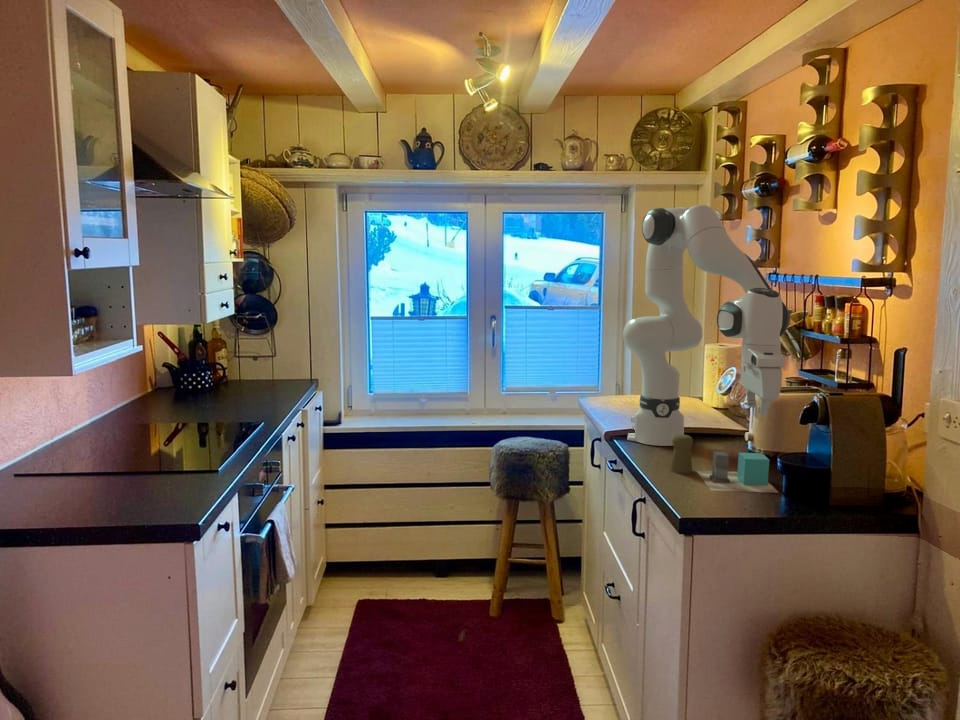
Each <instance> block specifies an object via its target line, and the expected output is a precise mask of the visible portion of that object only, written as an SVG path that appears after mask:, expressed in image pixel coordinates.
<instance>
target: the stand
mask: <svg viewBox="0 0 960 720" xmlns="http://www.w3.org/2000/svg"><path fill="white" fill-rule="evenodd" d="M712 455H713V456H712V457H713V458H712V470H696V473H698V475H699V476H700V478H701V479H702V481H703V482H704V484H705V485H706V486H707V487H708V488H709V490H710V491H713V492H714V491H718V492H742V493H743V492H745V493H747V492H748V493H750V492H751V493H774V494H777V493H778V494H779V491H778V490H777V489H776V488H775V487H774V486H773V485H772V484H771V483H770V482H769V481H768V486H763V485H743V484H742V483H741V482H740V480H739V479H738V478H737V471H729V458H730V455H729V454H728V453H727V452H726V451H713V454H712Z"/></svg>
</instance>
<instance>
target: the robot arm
mask: <svg viewBox="0 0 960 720" xmlns="http://www.w3.org/2000/svg"><path fill="white" fill-rule="evenodd" d="M641 231H642V236H643V237H644V239H645V241H646V242H647V243H648V246H647V250H646V258H645V259H646V260H645V277H644V278H645V283H644V286H645V291H644V292H645V296H646V298H647V299H648V300H649V301H650V302H652V303H653V304H655V305H656V307H657V309H658V310H659V315H658V316H657V315H655V316H653V315H652V316H651V315H650V316H640V317H635V318H632V319H630V320H628V321H627V322H626V324H625V326H624V328H623V331H622V338H623V339H622V340H623V341H624V345H625V346H626V348H627V349H629V350H630V351H631V352H632V354H634V355H635V357H636V358H637V360H638V363H639V365H640V368H641V370H640V371H641V394H640V396H639V397H640V398H639V406H640V407H639V409H638V410H637V412H636V413H635V415H632V416H631V420H630V424H633V425H632V426H631V427H632V429H634V430H635V433H629V432H628V434H627V441H632V442H637V443H640V444H643V445H650V446H659V447H663V446H664V447H667V446H668V447H669V446H670V447H671V446H673V443H672V440H673V437H674V436H675V435H680V434H683V435H685V428H684V427H685V424H684V423H685V416H684V414H683V413H682V412H681V411H680V405H681V401H680V399H681V398H680V396H679V392H680V391H679V390H680V389H679V388H680V372H679V370H678V369H677V368H676V367H675V366H673V365H672V364H670V363H669V362H668V360H667V355H666V353H667V352H669V353H670V352H683V351H687V350H691V349H693V348H694V349H695V348H696V347H698V346H699V344H700V343H701V341H702V338H703V327H702V325H701V323H700V321H699V320H698V319H697V318H696V317H695V316H694V315H693V314H692V313H691V312H690V310H689V308H688V306H687V304H686V301H685V295H684V253H685V251H686V250H687V251H688V254H689V257H690V259H691V261H692V262H693V263H694V265H695V266H696V267H697V268H698V269H700V270H701V271H704V272H706V273H709V274H712V275H713V274H714V275H717V276H721V277H725V278H727V279H729V280H732V281H734V282H736V283H737V284H738V285H739V286H740V287H741V288H742V290H743V291H744V293H745V294H744V295H742V296H741V297H739V298H736V299H732V300H730V301H726V302H724V303H723V304H722V305H721V306H720V308H719V310H718V312H717V315H716V325H717V328H718V331H720V333H721V334H722V335H723V336H724V337H727V338H730V339H742V341H741V357H740V361H741V362H742V363H741V368H740V369H741V370H740V379H739V380H740V385H741V387H743V388H744V389H745V395H746V399H747V403H746V405H747V407H749V408H754V409H755V408H756V406H757V400H756V396H758V397H759V401H760V404H759V405H760V406H758V414H759V415H760V416H765V417H766V416H768V414H769V409H770V406H771V402H772V401H773V400H775V401H776V400H778V399H779V397H780V394H781V389H782V388H781V387H782V381H783V380H782V379H783V369H784V368H785V365H786V359H785V357H784V356H783V354H782V350H781V346H782V342H781V337H782V336H783V335H784V334H785V333H786V331H787V330H788V328H789V326H790V323H791V314H790V310H789V309H788V306H786V304H785V303H784V301H783V300H782V296H781V293H779V292H778V290H774V289H772V288H771V286H770V285H769V283H768V282H767V280H766V279H765V277H764V276H763V274H762V273H761V271H760V270H759V268H758V267H757V265H756V264H755V262H754V261H753V260H752V258H750V256H748V255H747V254H746V253H745V252H743V251H742V250H741V249H740V248H739V247H738V246H737V245H736V244H735V242H733V240H732V239H731V237H730V236H729V234H728V232H727V230H726V228H725V226H724V224H723V222H722V220H721V219H720V217H719V215H717V213H716V212H715V211H714V209H712V207H710V206H708V205H706V204H696V205H693V206H691V207H686V206H680V207H669V208H668V207H667V208H663V207H657V208H653V209H650V210H649V211H648V212H646V214H645V215H644V217H643V220H642V223H641ZM782 368H783V369H782Z"/></svg>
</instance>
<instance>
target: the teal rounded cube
mask: <svg viewBox="0 0 960 720" xmlns="http://www.w3.org/2000/svg"><path fill="white" fill-rule="evenodd" d="M737 456H738V458H737V471H736V472H737V478H738V479H739V480H740V482H741V483H742V484H743V485H763V486H768V482H769V472H770V471H769V470H770V469H769V468H770V459H769V458H768V457H767V456H766V455H765V454H764V453H761V452H738V455H737Z"/></svg>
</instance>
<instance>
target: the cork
mask: <svg viewBox="0 0 960 720" xmlns="http://www.w3.org/2000/svg"><path fill="white" fill-rule="evenodd" d="M672 443H673V445H672V446H673V452H672V458H671V463H670V468H669V470H670V471H671V473H675V474H683V475H687V474H691V473H693V465H692V464H693V463H692V451H691V449H692V447H693V444H694V440H693V438H692V436H690V435H688V434H684V435H683V434H680V435H675V436H674V437H673V440H672Z"/></svg>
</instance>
